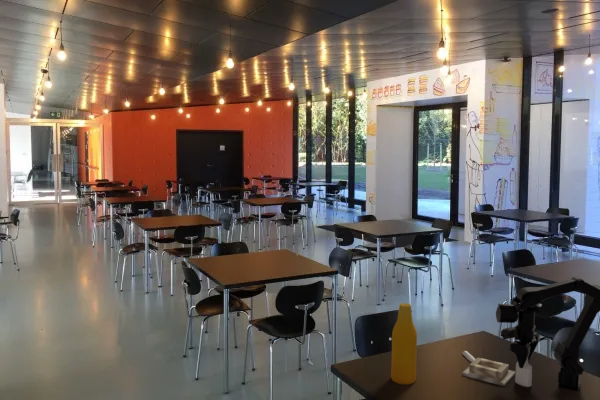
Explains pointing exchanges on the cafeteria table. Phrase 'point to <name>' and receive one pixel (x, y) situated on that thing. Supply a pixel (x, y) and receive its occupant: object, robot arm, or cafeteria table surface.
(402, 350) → the beer bottle
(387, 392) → the cafeteria table surface
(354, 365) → the cafeteria table surface
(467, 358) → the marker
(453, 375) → the cafeteria table surface
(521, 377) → the eye dropper bottle
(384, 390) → the cafeteria table surface
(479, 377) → the collar block
